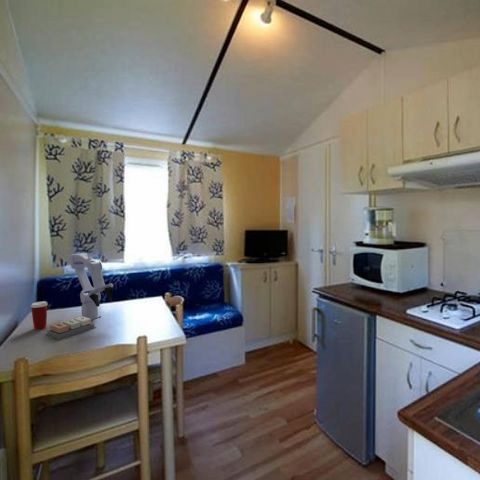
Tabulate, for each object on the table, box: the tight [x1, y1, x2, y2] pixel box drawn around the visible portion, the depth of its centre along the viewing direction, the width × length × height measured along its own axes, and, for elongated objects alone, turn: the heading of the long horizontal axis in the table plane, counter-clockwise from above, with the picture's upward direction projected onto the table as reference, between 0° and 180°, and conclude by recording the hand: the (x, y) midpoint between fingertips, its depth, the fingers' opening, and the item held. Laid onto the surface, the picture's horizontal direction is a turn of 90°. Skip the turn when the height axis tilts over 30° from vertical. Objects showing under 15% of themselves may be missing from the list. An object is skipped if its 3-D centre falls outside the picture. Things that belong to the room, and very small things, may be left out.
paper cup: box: [30, 301, 48, 331], centre depth 158 cm, size 8×8×14 cm
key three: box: [49, 322, 69, 333], centre depth 148 cm, size 9×4×3 cm, turn 58°
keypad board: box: [44, 322, 97, 341], centre depth 154 cm, size 13×20×2 cm, turn 148°
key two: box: [62, 319, 80, 329], centre depth 153 cm, size 9×4×3 cm, turn 58°
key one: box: [73, 315, 92, 326], centre depth 159 cm, size 9×4×3 cm, turn 58°
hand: (104, 303), depth 162 cm, fingers open, 7 cm apart
